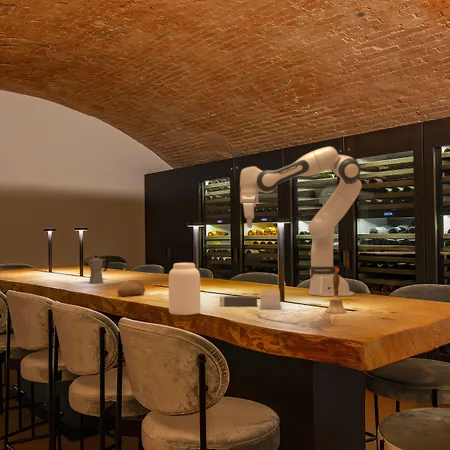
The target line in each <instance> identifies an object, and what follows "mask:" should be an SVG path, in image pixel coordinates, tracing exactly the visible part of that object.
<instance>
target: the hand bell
mask: <svg viewBox="0 0 450 450" xmlns="http://www.w3.org/2000/svg"><path fill="white" fill-rule="evenodd" d="M339 276H340V275H339V271H338V272H335V273H334V276H333V285H334V296H331V298H329V299H330V301H329V305H328V307H327V309H326V310H325V313H328V314H334V315H335V314H337V315H339V314H347V312H348V311H347V310H346V309H345V308H344V305H343V299H342V298H341V296H338V286H339V282H340V278H339Z"/></svg>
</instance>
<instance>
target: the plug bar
mask: <svg viewBox="0 0 450 450" xmlns="http://www.w3.org/2000/svg"><path fill="white" fill-rule="evenodd" d="M219 307H221V308H225V307H226V308H227V307H228V308H231V307H232V308H233V307H234V308H235V307H237V308H243V307H244V308H246V307H247V308H257V307H258V296H257V295H256V296H255V295H253V296H251V295H250V296H248V295H245V296H244V295H243V296H242V295H240V296H239V295H235V296H233V295H232V296H231V295H230V296H229V295H228V296H225V295H224V296H219Z"/></svg>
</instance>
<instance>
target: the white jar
mask: <svg viewBox="0 0 450 450" xmlns="http://www.w3.org/2000/svg"><path fill="white" fill-rule="evenodd" d="M172 266H173V268H171V270H169V273H168V312H169V314H170V315H174V316H191V315H197V314H200V313H201V275H200V274H201V273H200V271H199V270H198V268H196V264H195V263H194V262H176V263H173V265H172Z"/></svg>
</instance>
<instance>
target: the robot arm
mask: <svg viewBox="0 0 450 450" xmlns="http://www.w3.org/2000/svg"><path fill="white" fill-rule="evenodd" d="M328 170H330V171H331V172H332V173H333V174H335V175H336V176H337V177H339V183H338V185H337V187H336V188H335V189H334V190H333V192H332V194H330V196H329V198H328V199H327V201H326V202H325V203H324V204H323V206H322V207H321V208H320V209H319V211H318V212H317V213H316V214H315V215H314V217H313V218H312V219H311V220H310V222H309V224H308V226H307V227H308V233H309V234H310V235H311V237H312V243H311V249H310V267H309V276H310V284H309V290H308V293H307V294H308V295H311V296H320V297H334V285H333V276H334V273H335V272H338V273H339V271H340V268H339V267H336V266H334V242H335V241H334V240H335V227H336V225H338V223H339V222H340V221H341V220H342V219H343V218H344V216H345V215H346V214H347V213H348V210H349V209H350V208H351V206H352V205H353V204H354V202H355V201H356V199H357V197H358V196H359V194H360V192H361V189H362V187H363V185H362V181H361V180H360V174H361V171H362V170H361V164H360V163H359V161H358V160H357V159H356V158H353V157H352V156H349V155H345V154H340V153H338V150H337V149H335V147H334V146H325V147H321V148H318V149H315V150H312V151H310V152H308V153H306V154H304V155H302V156H301V157H299V158H298V159H297V160H296V161H294V162H293V163H290V164H289V165H285V166H283V167H281V168H278V169H274V170H273V169H267V170H261V169H260V168H258V167H257V166H256V165H255V166H254V165H252V166H251V165H250V166H247V167H244V168H242V170H241V172H240V176H239V179H240V180H239V181H240V182H239V185H240V193H239V195H240V197H239V198H240V200H239V201H240V204H242V206H243V213H244V214H243V216H244V218H245V219H246V227H247V228H248V229H250V228H253V220H254V218H255V207H257V206H256V205H257V204H259V193H265V194H269V193H272V192H273V191H275V190H276V189H277V187H278V185H280V184H282V183H284V182H286V181H288V180H291V179H293V178H295V177H298V176H299V177H300V176H301V177H310V176H314V175H317V174H320V173H323V172H324V171H328ZM339 278H340V282H339V286H338V296H339V297H342V296H344V297H347V296H350V297H351V296H354V294H355V292H353V291H352V290H351V291H350V286H349V282H348V281H347V280H346V279H344V278H343V277H342V276H341V275H339Z"/></svg>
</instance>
